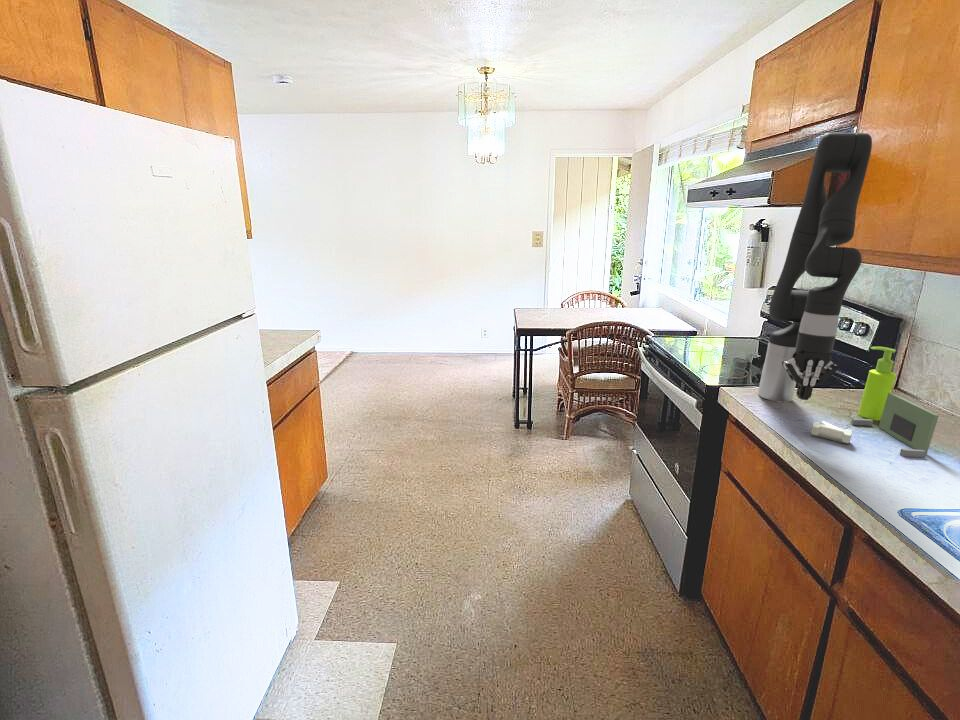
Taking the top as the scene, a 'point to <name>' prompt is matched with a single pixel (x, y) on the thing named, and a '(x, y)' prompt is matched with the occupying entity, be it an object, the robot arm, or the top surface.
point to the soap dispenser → (878, 386)
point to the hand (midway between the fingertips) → (802, 398)
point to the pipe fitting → (831, 432)
